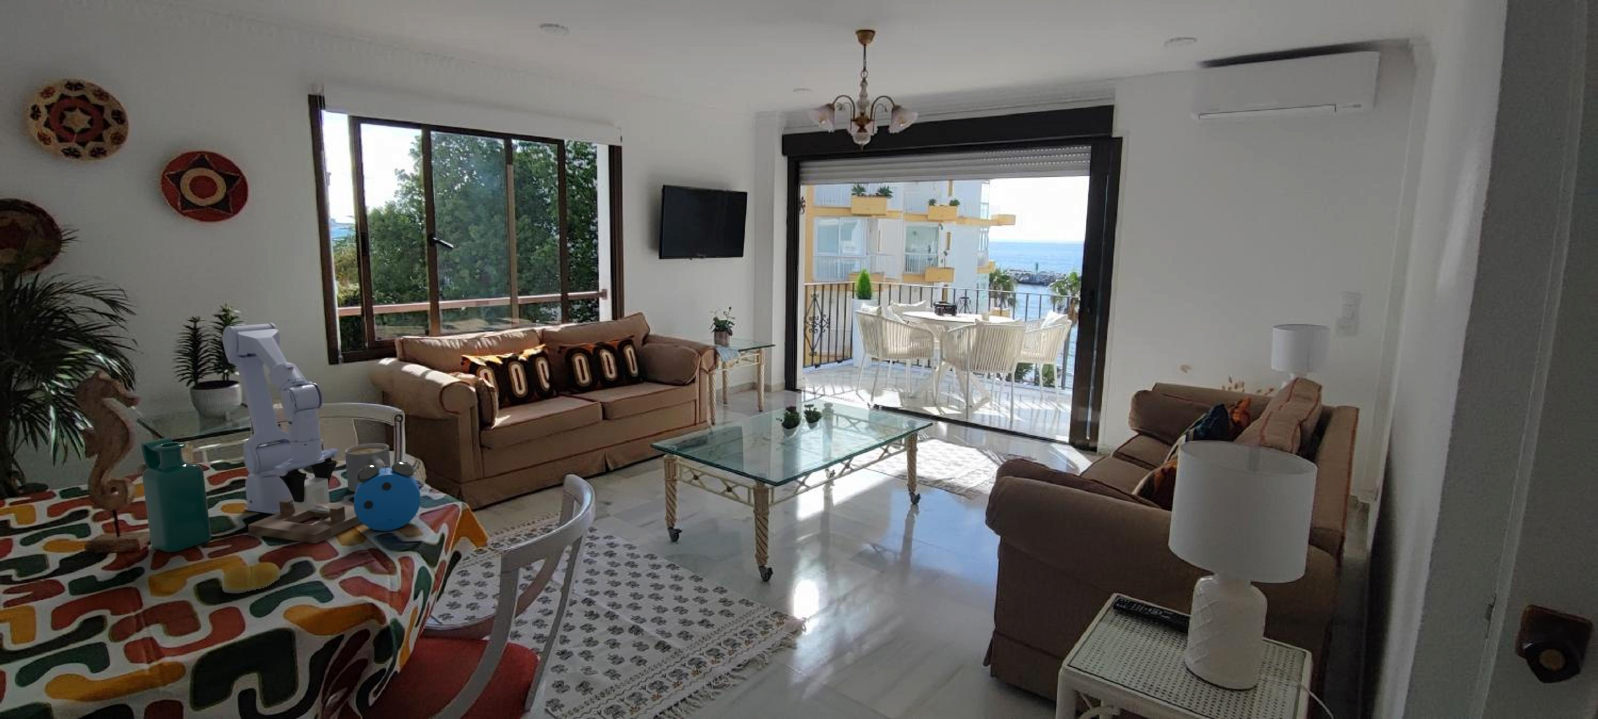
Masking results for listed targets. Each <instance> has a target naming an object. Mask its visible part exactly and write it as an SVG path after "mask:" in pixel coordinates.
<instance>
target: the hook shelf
mask: <svg viewBox="0 0 1598 719" xmlns="http://www.w3.org/2000/svg"><path fill="white" fill-rule="evenodd" d="M290 502H293V499H285V500H282V501H279V505H280V513H277V514H271V515H270V516H267V517H264V518H262V519H259V520H257V521H255V522H252V523H250V524H248V525H247V526H248V534H250V535H258V536H262V535H263V537H269V538H276V539H282V540H283V539H284V540H291V541H297V542H302V543H303V542H304V543H308V542H309V543H310V544H315V543H316V544H318V543H320V542H323V541H325V540H327V539H329V538H331V537H333V536H335V535H337V534H340V533H342V532H344V531H346V530H348V529H350V528H353V527H355V526H358V525H359V524H362V523H361V522H360V520H359V519H358V518H357V516H356V514H355V511H354V505H351V504H350V505H348V504H341V503H334V502H328V503H326V504H324V503H317V502H313V505H317V506H324V507H331V508H330V514H328V513H320V512H313V511H306V510H299V509H292V508H288V504H289V503H290ZM314 517H315V518H323V520H321V521H318V522H316V523H313V524H307V523H302V522H305V521H307V520H309V519H312V518H314ZM326 538H327V539H326ZM309 543H308V544H309Z"/></svg>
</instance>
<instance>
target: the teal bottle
mask: <svg viewBox="0 0 1598 719" xmlns="http://www.w3.org/2000/svg"><path fill="white" fill-rule="evenodd" d="M140 445H141V447H140V448H141V451H142V455H143V461H144V464H145V466H146V470H144V471H143V473H142V476H141V478H142V485H143V486H142V487H143V492H144V500H145V508H146V515H147V516H146V517H147V524H148V530H149V538H150V545H151V547H152V548H155V549H157V550H159V551H163V552H166V553H176V552H181V551H183V550H184V551H185V550H187V549H190V548H193V547H195V546H198V545H201V544H205V543H207V542H209V541H210V540H211V539H212V532H211V524H210V516H209V515H210V514H209V508H208V506H209V505H208V499H207V490H206V481H205V472H204V469H203V467H202V466H201V465H200V464H197V463H193V462H189V461H185V460H184V459H183V452H182V449H184V448H185V447H187V443H186V442H184V441H173V439H172V437H164V438H159V439H155V440H150V441H145V442H141V444H140Z"/></svg>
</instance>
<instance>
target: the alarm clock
mask: <svg viewBox="0 0 1598 719" xmlns="http://www.w3.org/2000/svg"><path fill="white" fill-rule="evenodd" d="M383 467H385V468H382V469H380V468H379V467H378V466H376V465H367V466H365V467H362V468H361V469H360V470H359V472H358V473H357V476H356V478H357V481H358V482H359V484H358V486H357V488H356V491H355V492H354V496H353V498H354V499H353V506H354V511H355V514H356V516H357V518H358V519H359V520H360V522H361V523H360V524H362V525H364V526H365V527H367V528H368V529H371V530H375V531H380V532H381V531H382V532H388V531H395V530H397V529H400V528H402V527H404V526H406V525H407V524H409V523H410V522H411V521H412V520H413V519H414V518H416V517H415V516H416V515H417V514H418V512H419V510H420V507H421V503H422V502H421V500H422V499H421V498H422V497H421V492H420V487H419V483H418V482H417V479H415V478H414V474H415V468H414V467H413V465H412V464H410V463H409V461H402V460H401V461H400V460H399V461H396V462H394V463H393V464H392V465H391V466H390V467H391V468H386V467H388V465H387V466H383Z"/></svg>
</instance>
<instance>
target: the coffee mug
mask: <svg viewBox="0 0 1598 719" xmlns="http://www.w3.org/2000/svg"><path fill="white" fill-rule="evenodd" d="M344 455H345V456H344V457H345V470H346V480H347V489H348V491H350V492H354V493H355V491H356V488H357V486H358V484H359V482H358V481H357V478H356V476H357V473H358V472H359V470H360V469H361V468H362V467H365V466H367V465H376V466H378V467H379V468H380V469H382V468H385V467H383V466H387V465H388V467H386V468H391V467H392V466H391V457H390V456H391V454H390V445H388V444H386V443H380V442H379V443H378V442H377V443H376V442H375V443H374V442H372V443H362V444H358V445H357V444H356V445H353V446H350V447H348V448H346V449H345V451H344Z"/></svg>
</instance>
